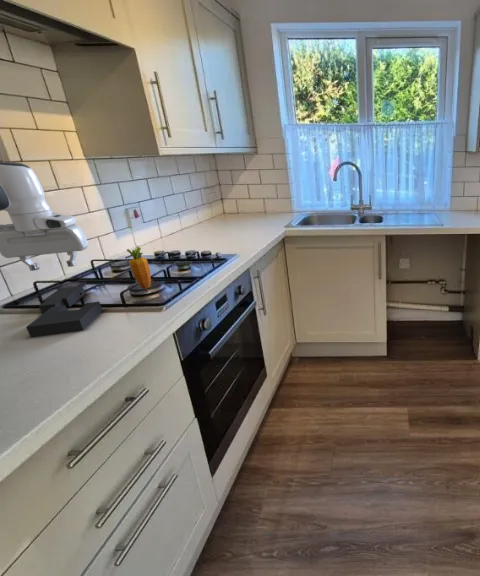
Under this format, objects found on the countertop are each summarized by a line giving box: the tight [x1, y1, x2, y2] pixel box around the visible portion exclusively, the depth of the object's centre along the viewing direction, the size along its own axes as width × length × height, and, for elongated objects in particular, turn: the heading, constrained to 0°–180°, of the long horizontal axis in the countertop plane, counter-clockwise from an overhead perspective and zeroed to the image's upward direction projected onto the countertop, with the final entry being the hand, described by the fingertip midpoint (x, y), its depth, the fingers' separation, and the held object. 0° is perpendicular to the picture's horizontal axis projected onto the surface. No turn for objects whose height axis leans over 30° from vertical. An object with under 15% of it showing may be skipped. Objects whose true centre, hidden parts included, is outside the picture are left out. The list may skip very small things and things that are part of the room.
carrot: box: [126, 246, 152, 292], centre depth 115 cm, size 5×5×15 cm
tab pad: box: [38, 285, 86, 315], centre depth 109 cm, size 6×14×3 cm, turn 16°
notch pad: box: [25, 301, 104, 338], centre depth 98 cm, size 12×12×3 cm
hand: (54, 267), depth 107 cm, fingers open, 8 cm apart
